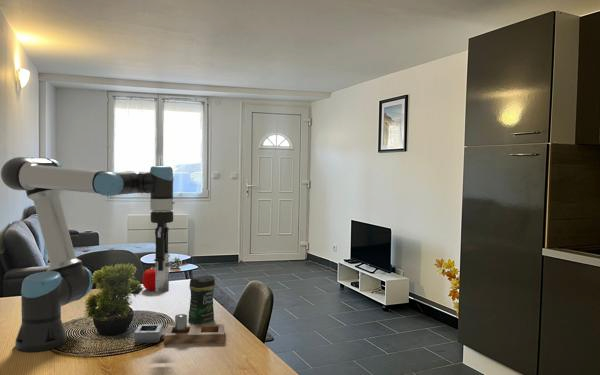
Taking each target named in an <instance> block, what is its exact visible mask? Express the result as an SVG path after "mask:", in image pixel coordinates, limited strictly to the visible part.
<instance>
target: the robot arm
mask: <svg viewBox="0 0 600 375" xmlns="http://www.w3.org/2000/svg"><path fill="white" fill-rule="evenodd" d="M173 171H174V170H173V168H172V167H171V166H165V165H164V166H163V165H162V166H159V165H158V166H157V165H156V166H153V165H152V166H151V167H150V169H149V171H130V170H129V171H127V170H126V171H111V170H110V171H107V170H95V169H86V168H74V167H73V168H72V167H64V166H62V164H61V163H60V162H59V161H57V160H55V159H53V158H48V157H28V156H27V157H25V156H23V157H22V156H19V157H14V158H11V159H9V160H7V161H6V162H5V163H4V164H3V166H2V168H1V171H0V177H1V180H2V182H3V183H4V185H5V186H6V187H8V188H10V189H12V190H14V191H25V193H26V196H27V199H30V200H31V201H33V205H34V208H35V212H36V216H37V219H38V223H39V226H40V231H41V234H42V239H43V242H44V246H45V251H46V254H47V257H48V261H49V267H48V268H47V269H46V271H41V272H36V273H32V274H30V275H28V276H26V277H24V279H23V281H22V283H21V289H20V294H21V297H20V298H21V324H20V327H19V329H18V333H17V335H16V338H15V349H16V350H17V351H21V352H26V353H27V352H28V353H36V352H43V351H48V350H53V349H57V348H59V347H61V346H62V345H64V344H65V343H66V342H67V331H66V329H65V327H64V324H63V320H62V307H63V306H66V305H67V304H70V303H73V302H76V301H77V302H78V301H79V300H81V299H82V298H85V297H86V296H87V295H89V293H90V292H91V290H92V288H93V284H94V282H93V283H91V277H92V276H93V273H92V272H91V271H90V269H88V268H87V267H86V266H83V261H82V260H81V259H79V258H77V256H76V253H75V250H74V244H73V243H72V239H71V234H70V231H69V227H68V224H67V220H66V215H65V212H64V207H63V205H62V202H61V196H60V195H61V193H62V192H63V191H67V192H68V191H69V192H76V193H77V192H78V193H79V192H80V193H90V194H99V195H101V196H103V197H104V196H106V197H115V196H117V195H118V196H119V195H133V194H150V210H151V212H150V222H151V223H152V224H157V225H156V228H155V229H154V230H155V232H154V235H155V254H156V258H155V259H153V261H154V262H155V261H157V280H165V261H164V260H165V259H164V257H165V253H168V254H169V231H170V229H169V226H168V224H169V223H173V222H174V212H173V211H172V210H174V204H176V202H175V200H174V180H175V179H174V173H173ZM169 258H170V254H169ZM60 345H61V346H60ZM58 346H59V347H58Z"/></svg>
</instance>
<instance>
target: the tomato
mask: <svg viewBox="0 0 600 375" xmlns="http://www.w3.org/2000/svg"><path fill="white" fill-rule="evenodd" d="M141 283H142V285H143V288H144V289H146V290H147V291H156V267H152V268H147V269H146V270H144V272H143V273H142V282H141Z"/></svg>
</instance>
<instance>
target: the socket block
mask: <svg viewBox="0 0 600 375" xmlns="http://www.w3.org/2000/svg"><path fill="white" fill-rule="evenodd" d="M162 335H163V324H162V323H157V324H156V323H155V324H148V323H147V324H146V323H145V324H138V326H137V328H136V329H135V331H134V338H133V340H134V343H135V344H140V343H142V344H144V343H148V344H149V343H159V342H160V340H161V337H162Z"/></svg>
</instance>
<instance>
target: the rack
mask: <svg viewBox="0 0 600 375" xmlns="http://www.w3.org/2000/svg"><path fill="white" fill-rule="evenodd" d="M224 343H225V323H224V324H223V323H221V324H216V323H215V324H200V325H196V324H187V333H175V324H173V325H171V324H169V325H167V327H166V329H165V332H164V335H163V345H186V344H187V345H189V344H195V345H196V344H224Z"/></svg>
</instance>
